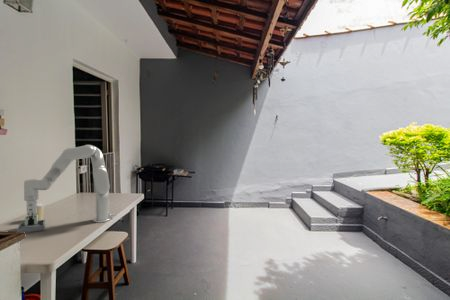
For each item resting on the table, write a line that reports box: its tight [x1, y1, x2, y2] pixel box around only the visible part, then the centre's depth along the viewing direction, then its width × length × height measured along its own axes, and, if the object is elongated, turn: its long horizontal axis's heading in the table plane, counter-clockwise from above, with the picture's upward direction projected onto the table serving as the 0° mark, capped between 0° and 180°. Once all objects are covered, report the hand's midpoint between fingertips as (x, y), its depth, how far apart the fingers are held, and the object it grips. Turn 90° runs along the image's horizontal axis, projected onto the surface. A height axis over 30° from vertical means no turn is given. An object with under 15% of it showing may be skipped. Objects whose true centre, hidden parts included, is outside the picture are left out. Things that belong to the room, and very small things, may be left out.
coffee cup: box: [36, 202, 45, 220], centre depth 180 cm, size 9×9×12 cm
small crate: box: [24, 215, 38, 226], centre depth 162 cm, size 6×6×5 cm
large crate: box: [16, 219, 46, 234], centre depth 163 cm, size 14×14×4 cm
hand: (31, 223), depth 162 cm, fingers closed on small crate, 6 cm apart
